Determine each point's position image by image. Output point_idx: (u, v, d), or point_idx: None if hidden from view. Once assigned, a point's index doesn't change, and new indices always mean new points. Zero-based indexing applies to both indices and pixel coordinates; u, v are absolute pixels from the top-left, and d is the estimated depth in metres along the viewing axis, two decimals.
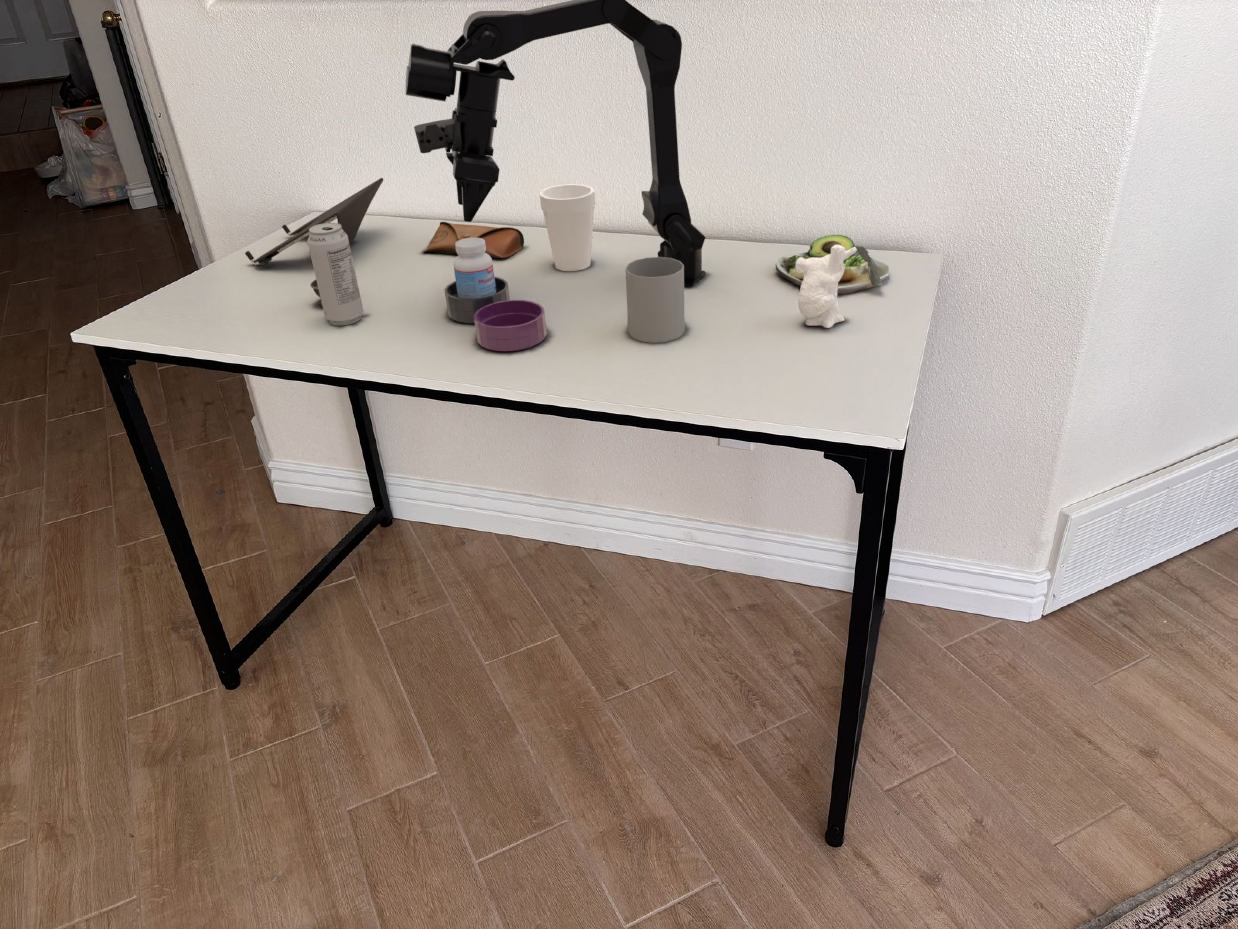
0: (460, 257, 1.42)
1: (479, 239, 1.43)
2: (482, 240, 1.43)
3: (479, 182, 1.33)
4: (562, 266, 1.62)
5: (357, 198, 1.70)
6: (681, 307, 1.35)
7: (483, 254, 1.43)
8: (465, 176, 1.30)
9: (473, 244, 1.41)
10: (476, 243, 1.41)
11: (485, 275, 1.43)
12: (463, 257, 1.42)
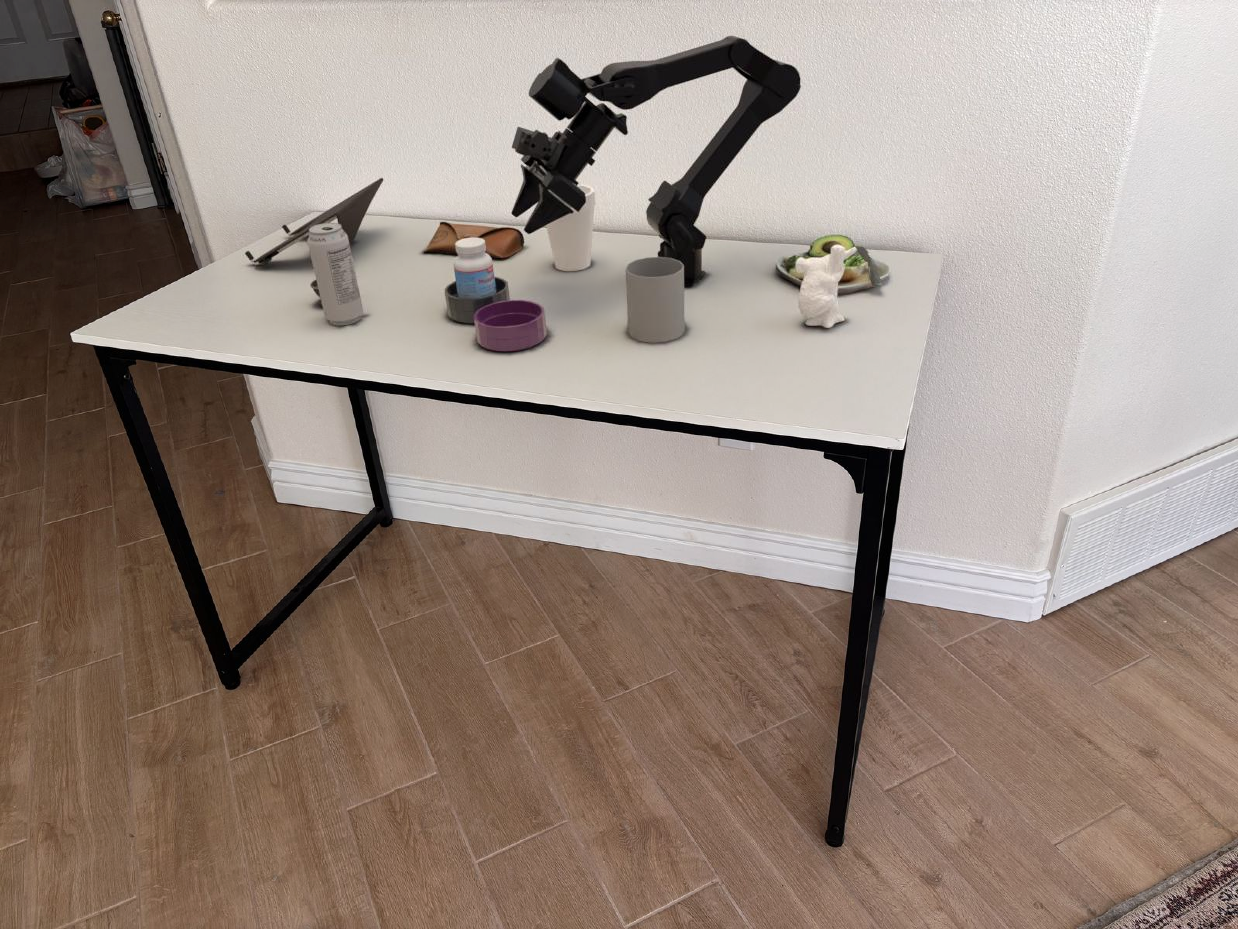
0: (460, 257, 1.42)
1: (479, 239, 1.43)
2: (482, 240, 1.43)
3: (562, 204, 1.36)
4: (562, 266, 1.62)
5: (357, 198, 1.70)
6: (681, 307, 1.35)
7: (483, 254, 1.43)
8: (556, 192, 1.33)
9: (473, 244, 1.41)
10: (476, 243, 1.41)
11: (485, 275, 1.43)
12: (463, 257, 1.42)
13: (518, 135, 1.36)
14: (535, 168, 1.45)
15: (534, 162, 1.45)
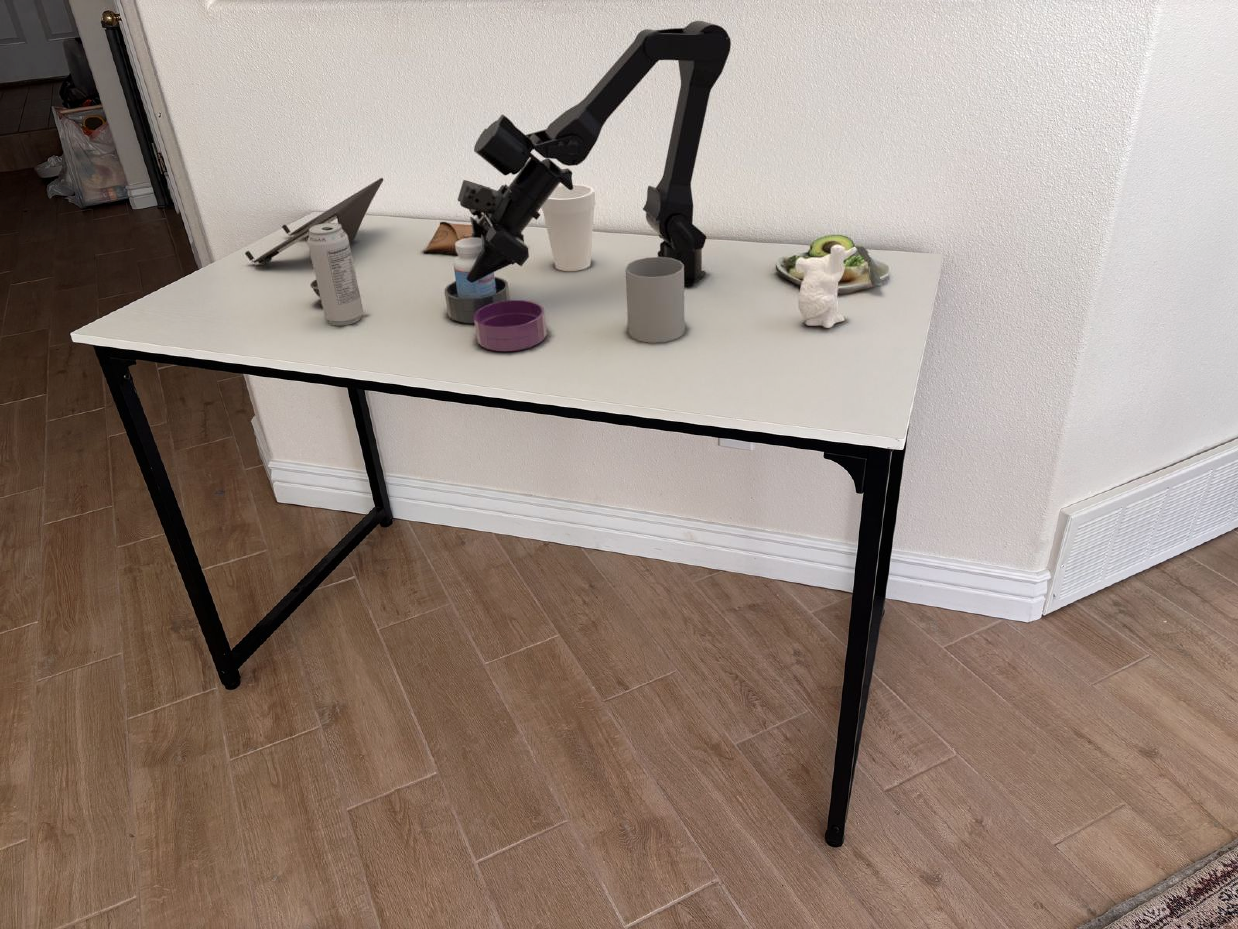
0: (460, 257, 1.42)
1: (479, 239, 1.43)
2: None
3: (503, 255, 1.38)
4: (562, 266, 1.62)
5: (357, 198, 1.70)
6: (681, 307, 1.35)
7: None
8: (498, 247, 1.35)
9: (473, 245, 1.41)
10: (476, 243, 1.41)
11: None
12: (463, 257, 1.42)
13: (463, 189, 1.38)
14: (484, 221, 1.46)
15: (483, 215, 1.45)
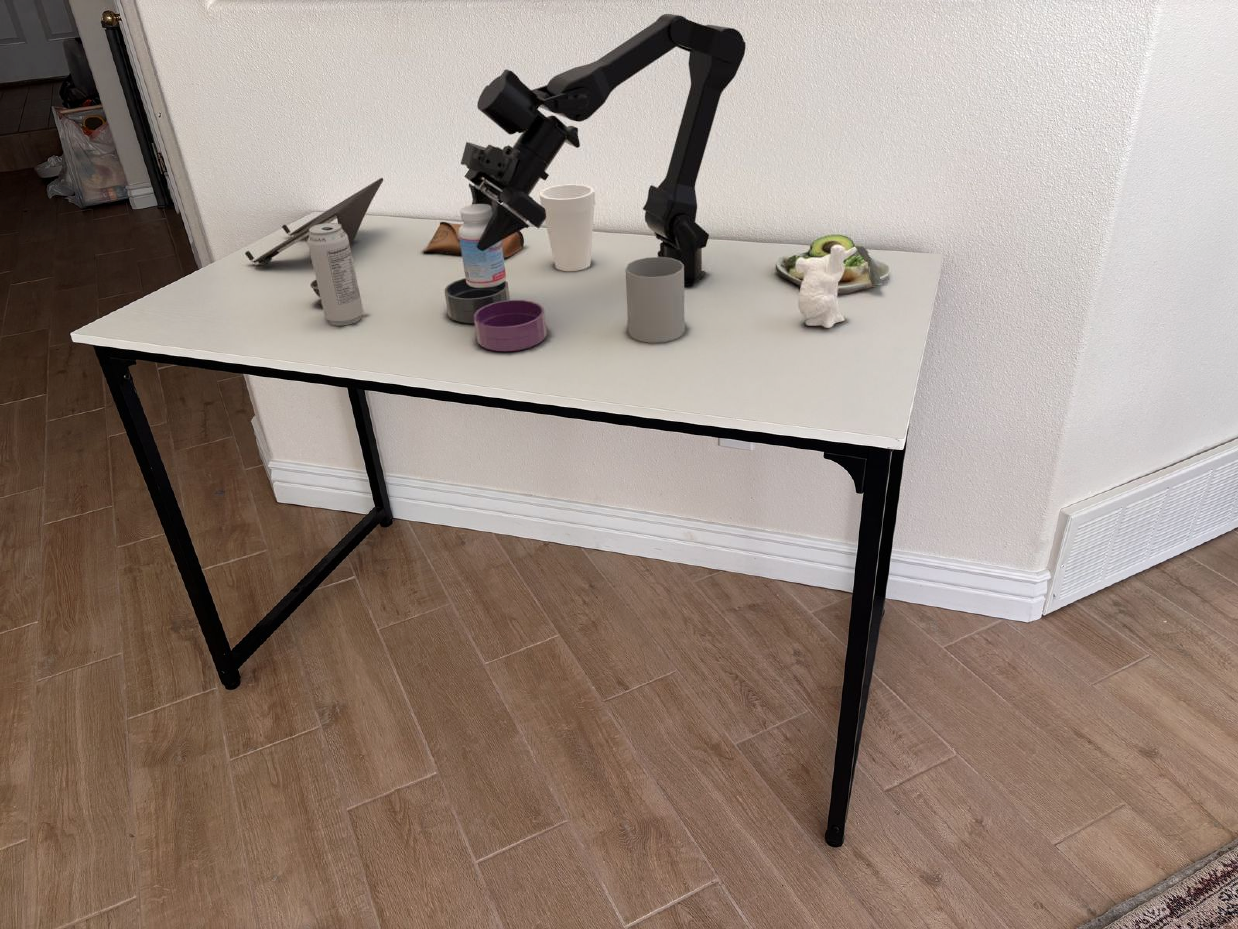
0: (467, 225, 1.34)
1: (484, 205, 1.35)
2: (488, 206, 1.35)
3: (517, 218, 1.31)
4: (562, 266, 1.62)
5: (357, 198, 1.70)
6: (681, 307, 1.35)
7: None
8: (516, 209, 1.27)
9: (480, 210, 1.33)
10: (484, 209, 1.34)
11: None
12: (471, 224, 1.34)
13: (469, 151, 1.30)
14: (485, 187, 1.38)
15: (484, 181, 1.37)
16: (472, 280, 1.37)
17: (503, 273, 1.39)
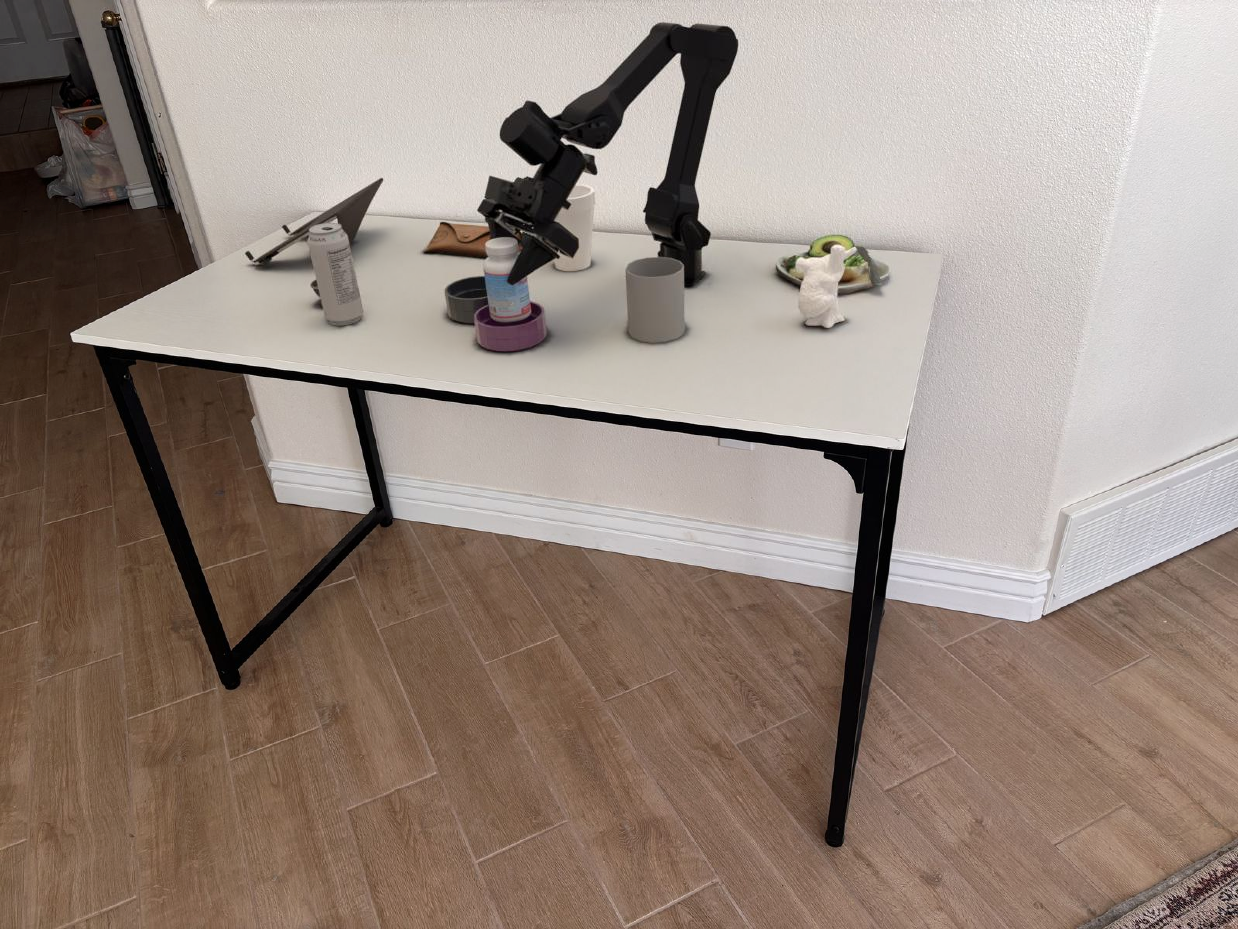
0: (494, 260, 1.31)
1: (508, 238, 1.33)
2: (513, 239, 1.32)
3: (550, 250, 1.29)
4: (562, 266, 1.62)
5: (357, 198, 1.70)
6: (681, 307, 1.35)
7: None
8: (554, 241, 1.26)
9: (508, 244, 1.30)
10: (511, 242, 1.31)
11: None
12: (499, 259, 1.31)
13: (495, 184, 1.27)
14: (503, 220, 1.35)
15: (502, 213, 1.34)
16: (500, 315, 1.34)
17: (529, 306, 1.36)
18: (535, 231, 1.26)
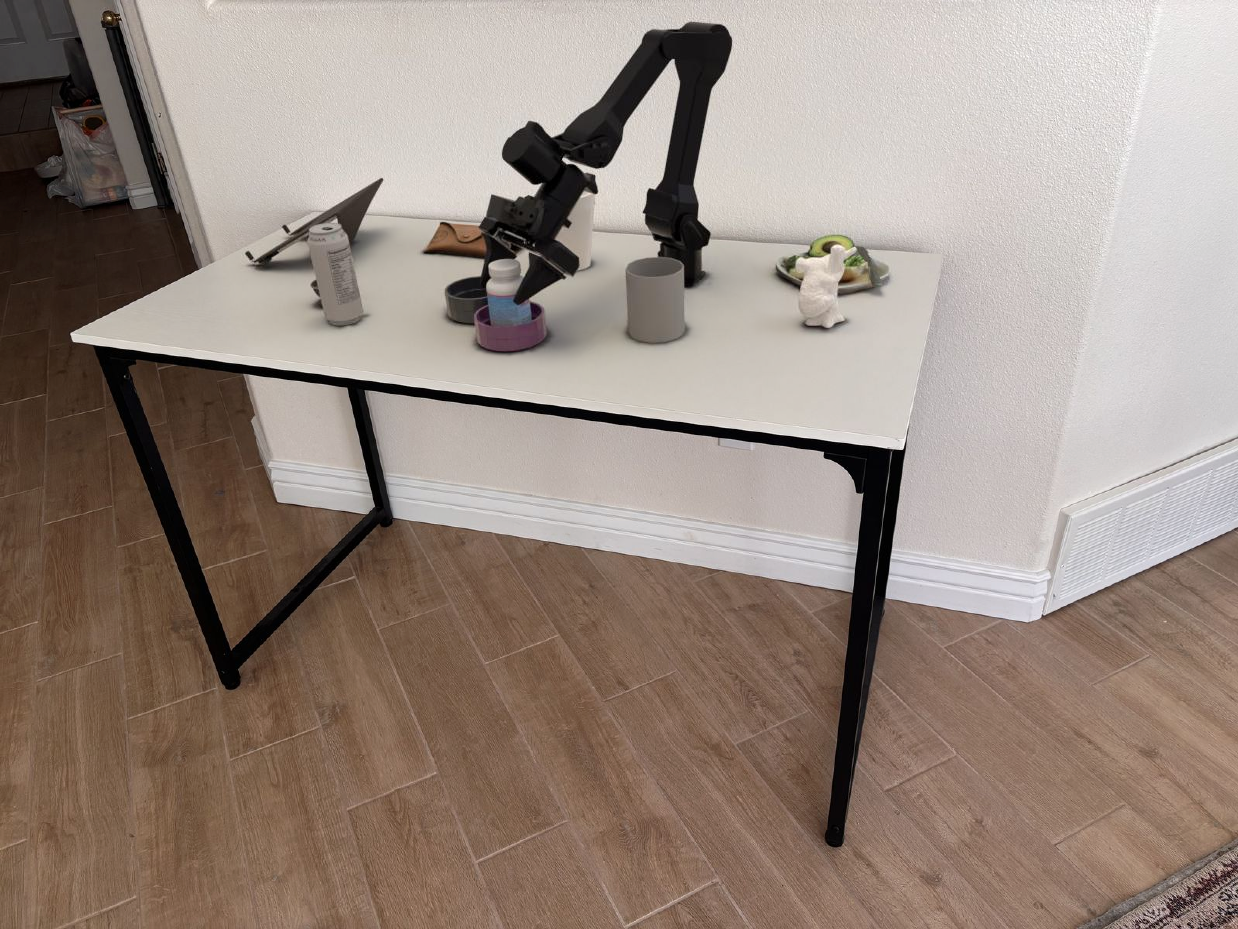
0: (497, 281, 1.33)
1: (511, 260, 1.34)
2: (515, 260, 1.34)
3: (556, 270, 1.29)
4: None
5: (357, 198, 1.70)
6: (681, 307, 1.35)
7: (519, 275, 1.34)
8: (554, 259, 1.27)
9: (511, 266, 1.32)
10: (514, 264, 1.33)
11: None
12: (502, 281, 1.32)
13: (497, 203, 1.28)
14: (499, 235, 1.37)
15: (498, 229, 1.37)
16: None
17: None
18: (536, 250, 1.28)
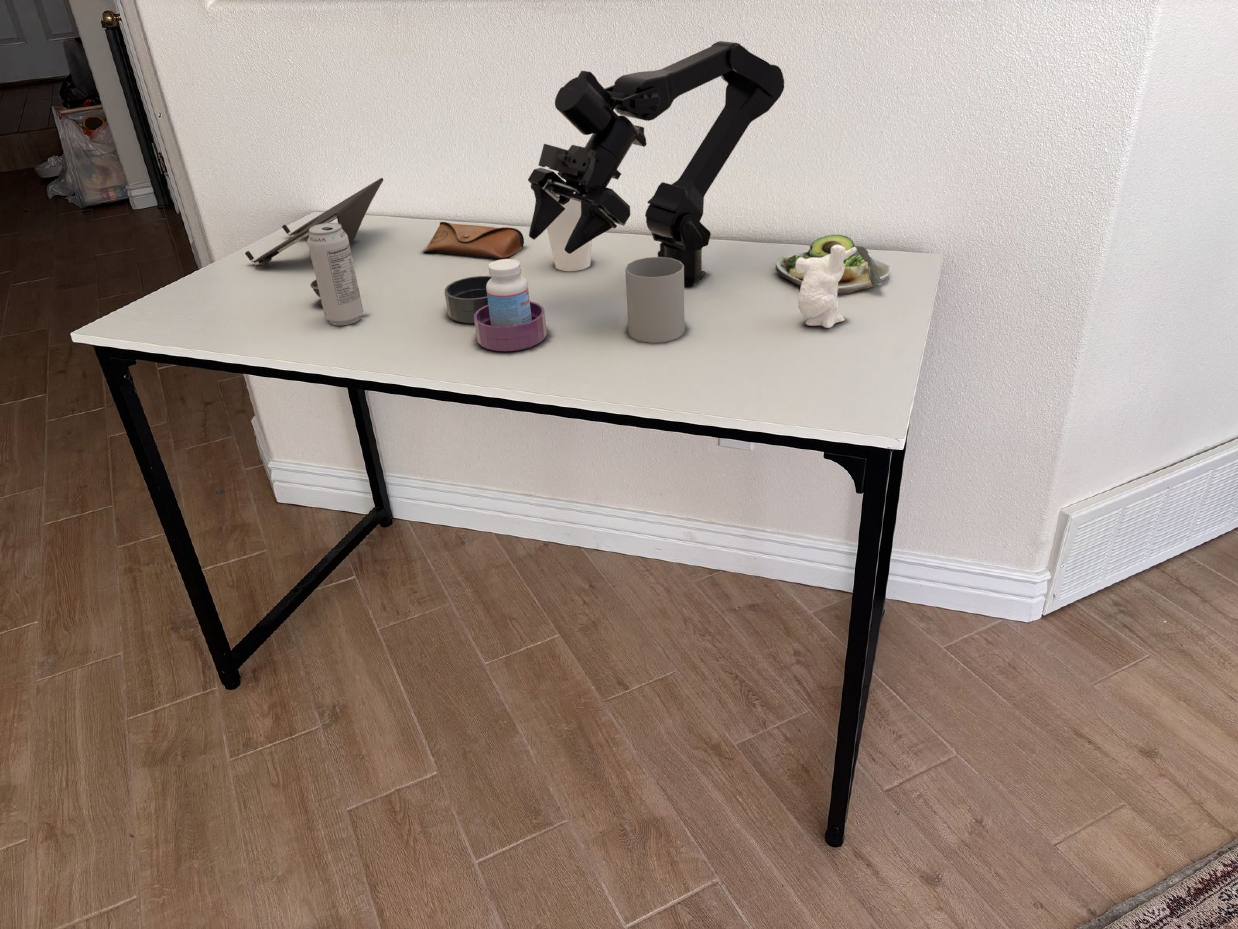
0: (497, 281, 1.33)
1: (511, 260, 1.34)
2: (515, 260, 1.34)
3: (608, 219, 1.32)
4: (562, 266, 1.62)
5: (357, 198, 1.70)
6: (681, 307, 1.35)
7: (519, 275, 1.34)
8: (607, 207, 1.29)
9: (511, 266, 1.32)
10: (514, 264, 1.33)
11: (526, 297, 1.35)
12: (502, 281, 1.32)
13: (550, 152, 1.30)
14: (549, 187, 1.39)
15: (548, 181, 1.39)
16: None
17: None
18: (589, 197, 1.30)
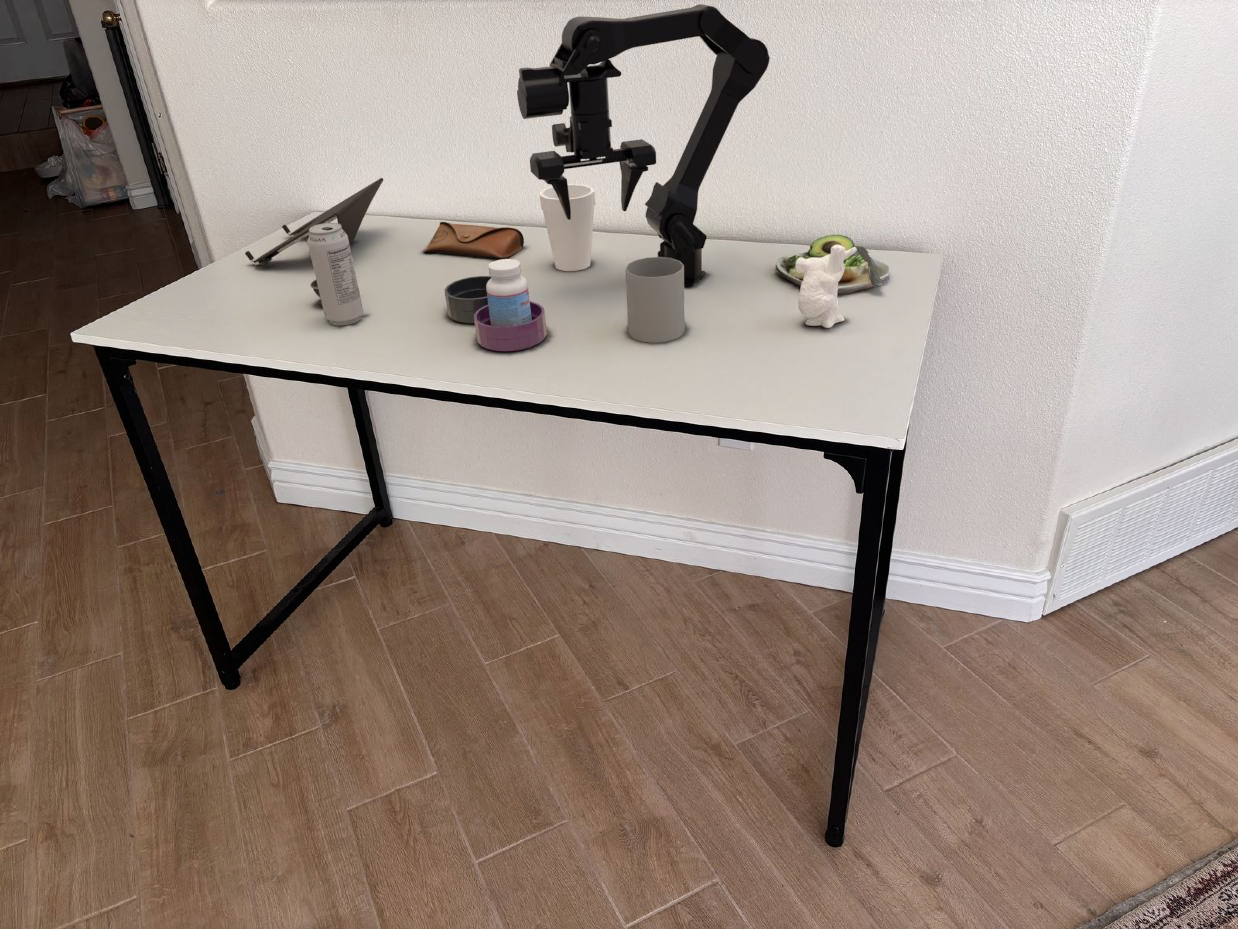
0: (497, 281, 1.33)
1: (511, 260, 1.34)
2: (515, 260, 1.34)
3: None
4: (562, 266, 1.62)
5: (357, 198, 1.70)
6: (681, 307, 1.35)
7: (519, 275, 1.34)
8: (531, 171, 1.41)
9: (511, 266, 1.32)
10: (514, 264, 1.33)
11: (526, 297, 1.35)
12: (502, 281, 1.32)
13: None
14: None
15: None
16: None
17: None
18: None
